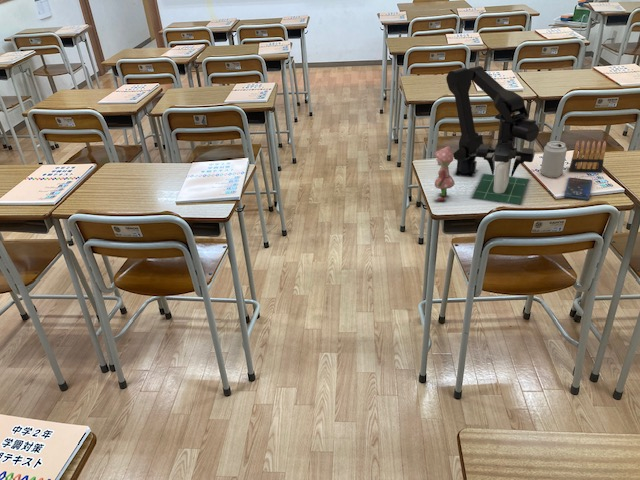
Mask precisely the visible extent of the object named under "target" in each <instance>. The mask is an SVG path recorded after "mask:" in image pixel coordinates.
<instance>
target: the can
mask: <svg viewBox="0 0 640 480" xmlns="http://www.w3.org/2000/svg"><path fill="white" fill-rule="evenodd" d="M566 145H567V144H566V143H565V142H562V141H559V140H553V141H549V142H547V143H546V145H544V148H543V152H542V153H543V154H542V160H541V165H540V173H541V174H542V175H543V176H544V177H546V178H558V177H560V176H561V175H562V174H563V172H564V166H565V161H566V156H567V151H568V148H567V146H566Z"/></svg>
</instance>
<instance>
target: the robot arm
mask: <svg viewBox="0 0 640 480" xmlns="http://www.w3.org/2000/svg"><path fill="white" fill-rule="evenodd" d="M445 80H446V84H447V87H448V90H449V91H450V93H451V94H452V95H453V96H454V100H455V105H456V111H457V117H458V122H459V128H460V139H459V140H458V149H457V150H456V151H455V152H453V153H452V154H453V160H454V161H455V160H456V172H455V176H462V177H473V176H474V174H475V173H476V172H477V165H478V162H477V160H476V158H483V160H485V161H487V163H488V165H489V168H490V171H491V175H495V168H496V163H497V162H504V163H507V162H509V159H511V160H514V159H515V160H514V163H513V166H512V170H511V172H510V174H511V175H510V177H514V174H515V172H516V171H517V168H518V167H519V165H521V164H524V163H532V162H533V161H534V158H535V155H536V149H534V148H530V147H523V148H522V150H518V148H517V147H516V140H517V139H520V140H523V141H525V142H528V143H532V142H534V141H535V140H536V139H537V138H538V136H539V134H540V127H539V125H538V124H537V121H536V119H529V117H530V115H529V112H528V109H527V107H526V105H525V103H524V98H523V96H521V95H520V94H518V93H516V92H515V91H513V90H509V89H506V88H505V87H503V86H502V85H501V84H500V83H499V82H498V81H496V80H495V79H494V78H493V76H491V75H490V74H489V73H488V72H487V71H486V70H485V69H484V67H483V66H482V65H476V66H472V67H469V68H467V67H460V68H456V69H454V70H450V71H449V72H448V73H447V75H446V77H445ZM472 82H473V83H474V84H475V85H476V86H477V87H478V88H479V89H481V90H482V91H483V93H485V94H486V95H487V96H488V97H489V98H490V99H491V100H492V102H493V106H494V108H495V109H496V111H497V112H498V114H497V115H495V116H494V119H496V120H499V123H498V124H499V125H498V133H497V143H496V145H495V148H491V144H484V142H483V139H484V138H483V135H482V134H478V132H476V128H475V122H474V116H473V111H472V105H471V98H470V89H471V87H472ZM516 113H517V114H516ZM516 138H517V139H516Z"/></svg>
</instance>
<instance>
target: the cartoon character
mask: <svg viewBox="0 0 640 480" xmlns="http://www.w3.org/2000/svg"><path fill="white" fill-rule="evenodd" d="M453 154H454V153H453V150H452V149H451V147H450V146H449V145H446V146H445V147H443V148H441V149H439V150H436V152H435V153H434V156H435V157H436V162H437V165H438V166H441V167H440V168H439V170H438V172H437V173H438V176H437V178H436V179H435V181H434V187H435V188H436V189H439V190H440V192H439V195H440V197H439V198H436V201H437V202H444V201H445V200H446V197H447V196H448V193H447V191H448V189H451V188H453V187H454V186H455V179H453V177H452V175H450V169H449V166H450V164H451V163H452V162H453V161H454V155H453Z"/></svg>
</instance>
